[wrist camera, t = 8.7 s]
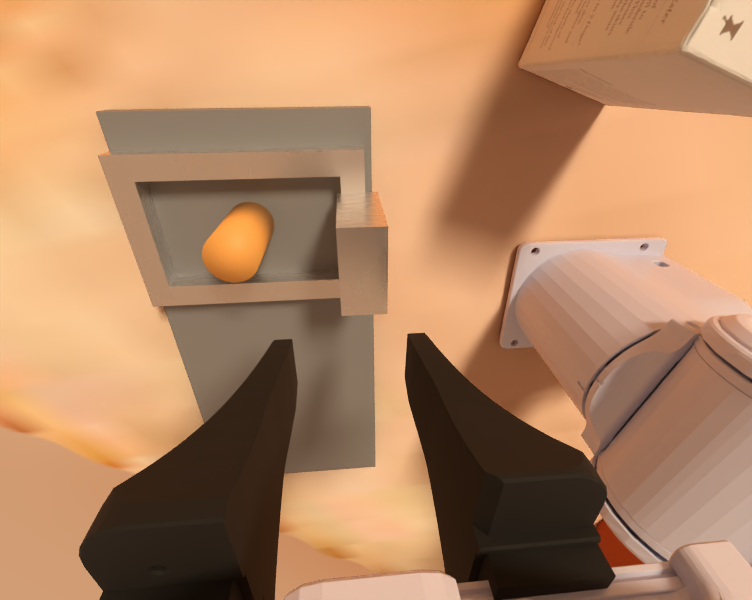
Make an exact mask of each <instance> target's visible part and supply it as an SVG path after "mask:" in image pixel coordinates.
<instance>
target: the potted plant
mask: <svg viewBox="0 0 752 600" xmlns="http://www.w3.org/2000/svg"><path fill="white" fill-rule="evenodd" d="M596 530H597V531H598V533H599V535H600V537H601V541H600V543H598V545H599V547H600V548H601V550H602V552H603V554H604V556H605V557H606V559H607V561H608V563H609V565H610V566H611V567H619V566H629V565H638V564H645V563H643V562H642V561H641V560H640V559H638V558H637V557H636V556H635V555H634V554H633V553H632V552H631V551H629V550H628V549H627V548H626V547H625V546H624V545H623V543H622V542H621V541H620V540H619V539H618V538H617V537H616V536H615V534H614V533H613V532H612V531H611V529H610V528H609V526H608V525H607V524H606V522H605V521H604V519H603V520H602V521H601V522H600V523H599V524H598V526H597V528H596Z"/></svg>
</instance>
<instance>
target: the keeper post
mask: <svg viewBox="0 0 752 600" xmlns="http://www.w3.org/2000/svg"><path fill="white" fill-rule="evenodd" d="M274 227H275V225H274V220H273V217H272V215H271V213H270V212H269V211H268V210H267V209H266V208H265V207H264V206H262V205H260V204H258V203H255V202H242V203H240V204H238V205H236V206H235V207H234V208H233V209H232V210H231V211H230V212H229V214H228V215H227V216H226V217H225V219H224V220H223V221H222V222H221V224H220V225H219V226H218V227H217V228H216V230H215V231H214V232H213V233H212V235H211V236H210V237H209V238H208V239H207V241H206V242H205V244H204V246H203V249H202V259H203V262H204V264H205V266H206V268H207V269H208V270H209V272H210V273H212V274H213V275H214V276H215V277H217V278H219V279H221V280H223V281H226V282H232V283H238V282H243V281H246V280H248V279H250V278H251V277H252V276H253V275H254V274H255V273H256V271H257V270H258V267H259V265H260V263H261V260H262V258H263V256H264V253H265V251H266V249H267V246H268V244H269V242H270V239H271V237H272V235H273V232H274Z"/></svg>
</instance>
